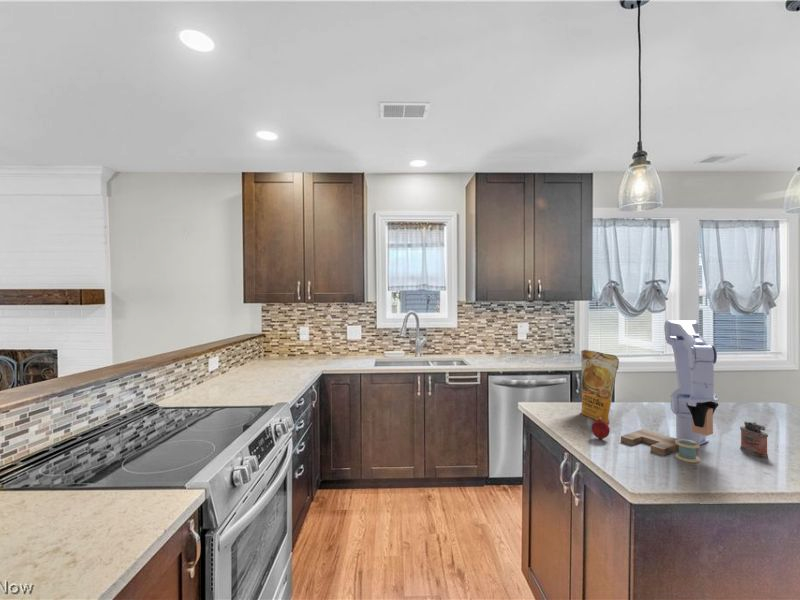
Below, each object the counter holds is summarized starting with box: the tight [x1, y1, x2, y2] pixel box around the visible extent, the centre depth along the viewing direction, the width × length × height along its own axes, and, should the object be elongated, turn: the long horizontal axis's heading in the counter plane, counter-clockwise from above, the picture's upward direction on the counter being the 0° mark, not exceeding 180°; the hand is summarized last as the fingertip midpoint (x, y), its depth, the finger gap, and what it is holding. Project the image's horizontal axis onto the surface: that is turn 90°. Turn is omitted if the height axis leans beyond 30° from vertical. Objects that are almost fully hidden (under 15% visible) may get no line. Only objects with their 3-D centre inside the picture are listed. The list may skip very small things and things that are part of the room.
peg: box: [692, 408, 714, 437], centre depth 123 cm, size 4×4×8 cm
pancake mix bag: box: [580, 349, 620, 424], centre depth 164 cm, size 7×19×28 cm, turn 13°
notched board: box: [620, 428, 679, 456], centre depth 135 cm, size 14×14×2 cm
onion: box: [591, 417, 611, 440], centre depth 140 cm, size 6×6×8 cm
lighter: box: [739, 420, 769, 459], centre depth 126 cm, size 8×3×10 cm, turn 5°
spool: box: [674, 439, 701, 464], centre depth 123 cm, size 6×6×5 cm
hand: (702, 425), depth 123 cm, fingers closed on peg, 4 cm apart
